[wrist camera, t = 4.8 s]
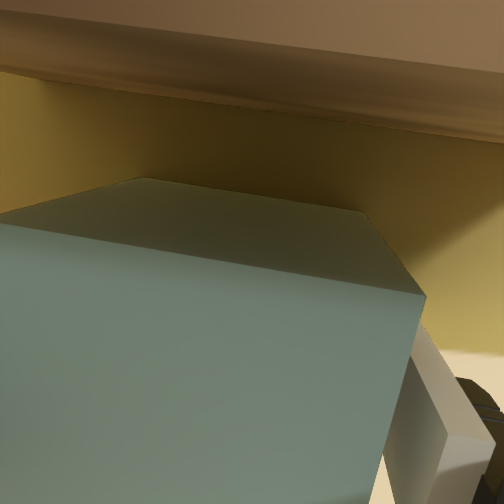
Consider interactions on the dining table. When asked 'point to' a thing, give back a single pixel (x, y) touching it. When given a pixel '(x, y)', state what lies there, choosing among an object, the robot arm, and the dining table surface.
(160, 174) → the dining table surface
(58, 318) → the letter cube
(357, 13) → the walnut box
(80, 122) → the dining table surface
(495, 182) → the dining table surface
